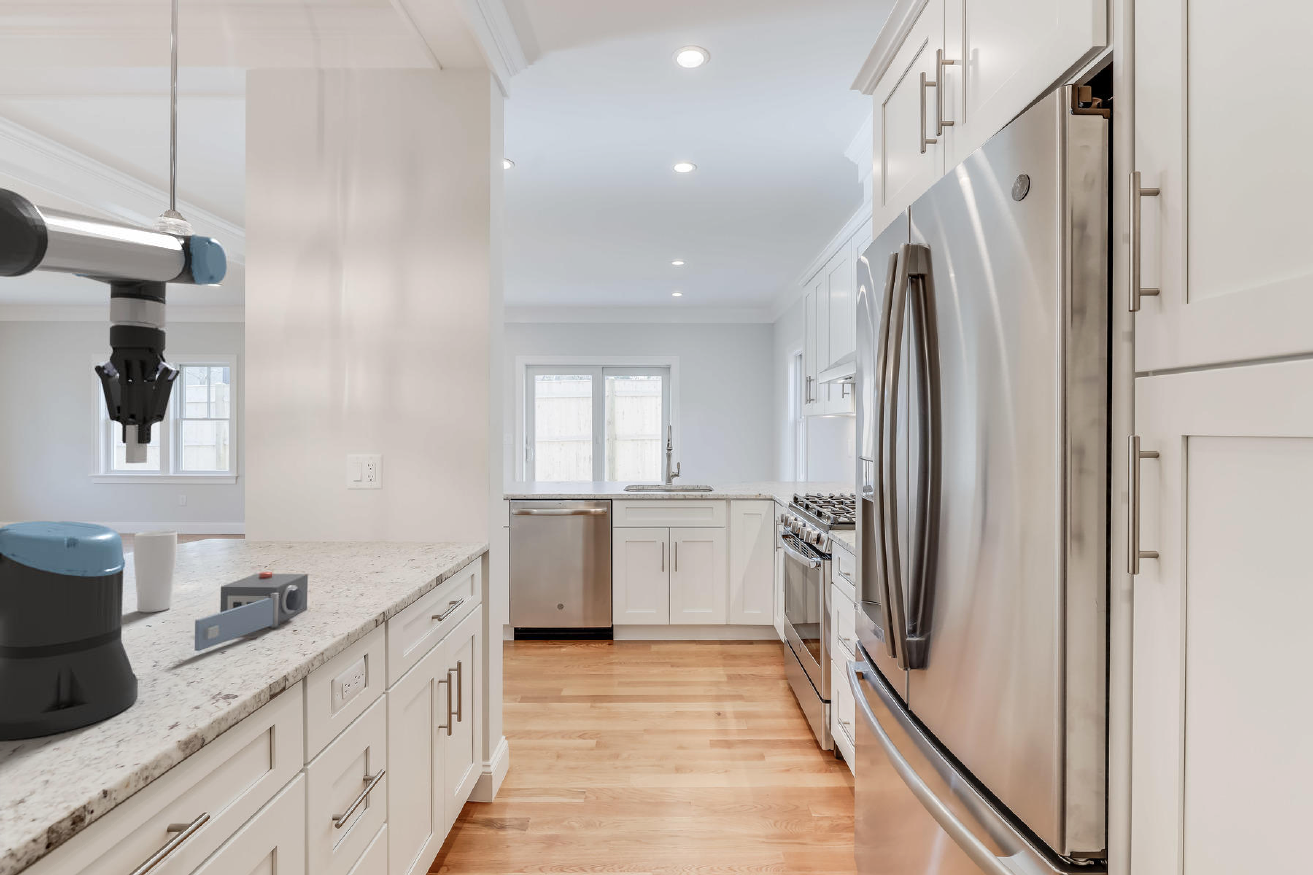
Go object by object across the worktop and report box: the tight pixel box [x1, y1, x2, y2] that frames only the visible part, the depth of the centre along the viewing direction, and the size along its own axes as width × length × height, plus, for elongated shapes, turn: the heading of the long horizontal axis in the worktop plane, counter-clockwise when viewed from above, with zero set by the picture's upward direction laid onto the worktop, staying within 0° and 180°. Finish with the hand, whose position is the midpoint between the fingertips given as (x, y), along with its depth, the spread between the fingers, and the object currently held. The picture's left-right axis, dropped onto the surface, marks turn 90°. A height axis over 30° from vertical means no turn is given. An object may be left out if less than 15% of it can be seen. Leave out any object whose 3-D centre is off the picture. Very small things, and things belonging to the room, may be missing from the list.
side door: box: [194, 593, 279, 652], centre depth 108 cm, size 2×16×6 cm, turn 168°
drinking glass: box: [132, 530, 179, 614], centre depth 125 cm, size 7×7×15 cm
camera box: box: [219, 571, 309, 626], centre depth 121 cm, size 11×12×8 cm
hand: (136, 462), depth 111 cm, fingers closed
